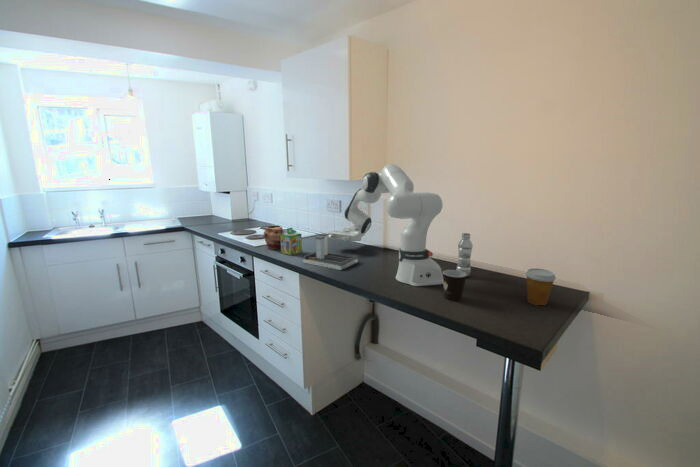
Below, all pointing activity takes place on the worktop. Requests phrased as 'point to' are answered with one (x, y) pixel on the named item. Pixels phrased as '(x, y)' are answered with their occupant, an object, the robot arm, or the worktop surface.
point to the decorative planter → (273, 236)
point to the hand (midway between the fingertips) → (336, 238)
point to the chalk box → (291, 242)
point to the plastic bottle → (464, 254)
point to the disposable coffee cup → (539, 285)
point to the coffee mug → (453, 284)
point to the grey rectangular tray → (331, 260)
